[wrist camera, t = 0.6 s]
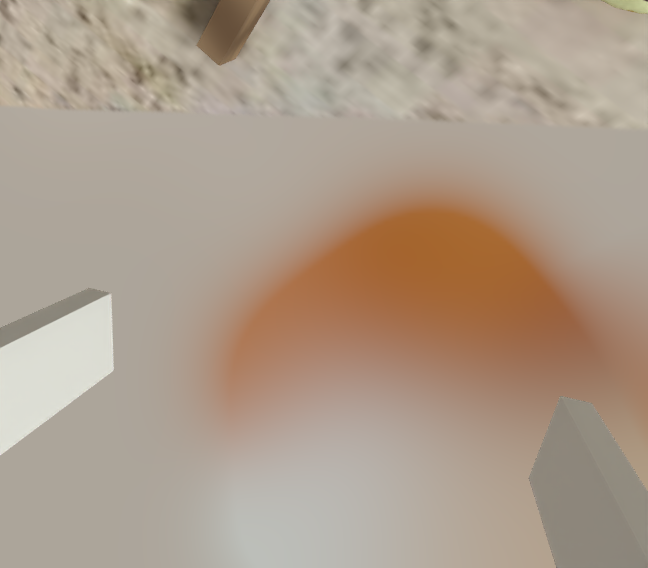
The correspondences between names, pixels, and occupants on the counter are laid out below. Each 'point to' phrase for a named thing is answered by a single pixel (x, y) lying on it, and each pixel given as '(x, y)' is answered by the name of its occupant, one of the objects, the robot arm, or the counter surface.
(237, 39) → the back rail
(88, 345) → the robot arm
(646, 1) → the decorated donut
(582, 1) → the counter surface
